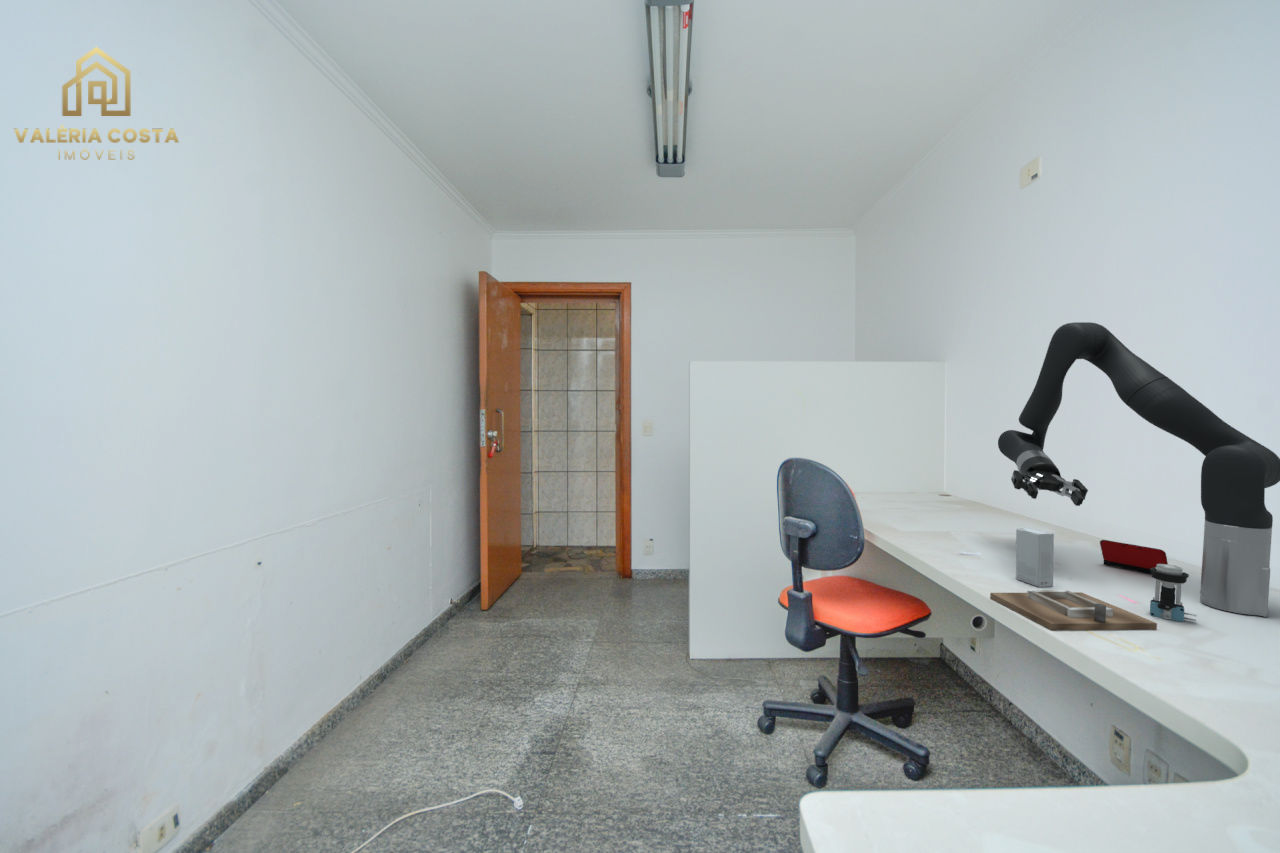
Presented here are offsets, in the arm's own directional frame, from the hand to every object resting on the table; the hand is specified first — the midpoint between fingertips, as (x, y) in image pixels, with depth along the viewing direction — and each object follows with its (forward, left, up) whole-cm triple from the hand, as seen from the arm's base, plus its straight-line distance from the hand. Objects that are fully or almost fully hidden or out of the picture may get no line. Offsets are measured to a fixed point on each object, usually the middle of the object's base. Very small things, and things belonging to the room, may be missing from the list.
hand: (1057, 498), depth 125 cm
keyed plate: (-6, +22, -19) cm, 30 cm away
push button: (-20, +10, -19) cm, 30 cm away
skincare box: (+3, +5, -20) cm, 20 cm away
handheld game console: (-12, -28, -20) cm, 36 cm away
